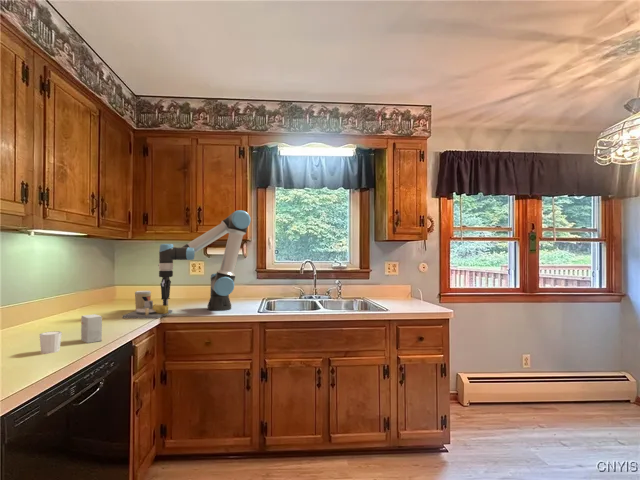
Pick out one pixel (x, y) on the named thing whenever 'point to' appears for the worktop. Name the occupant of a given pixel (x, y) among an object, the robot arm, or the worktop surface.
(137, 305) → the coffee cup
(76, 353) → the worktop surface
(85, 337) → the small box
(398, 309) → the worktop surface
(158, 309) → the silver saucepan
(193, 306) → the worktop surface
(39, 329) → the worktop surface
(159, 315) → the base plate
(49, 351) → the shot glass
